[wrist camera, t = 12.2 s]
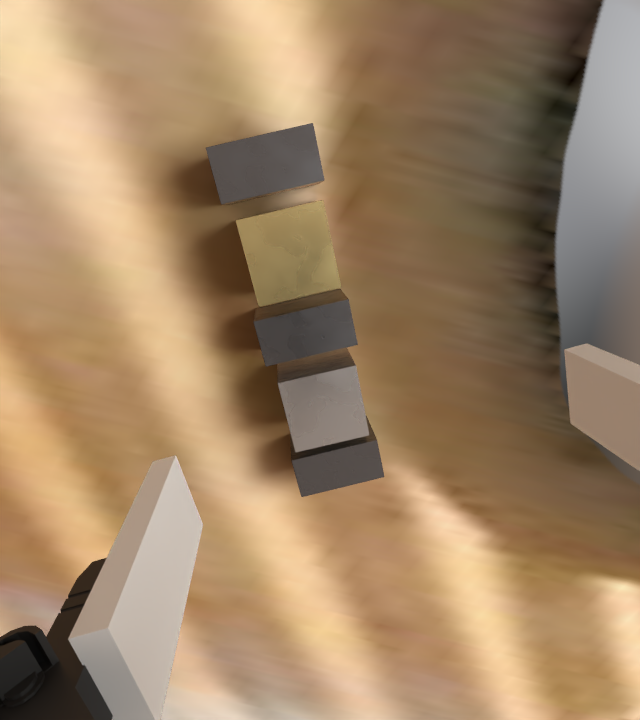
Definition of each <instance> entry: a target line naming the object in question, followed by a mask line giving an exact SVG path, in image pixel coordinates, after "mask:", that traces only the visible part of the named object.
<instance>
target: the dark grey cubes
mask: <svg viewBox="0 0 640 720" xmlns="http://www.w3.org/2000/svg"><path fill="white" fill-rule="evenodd" d="M206 150H207V154H208V158H209V161H210V165H211V169H212V172H213V176H214V180H215V183H216V187H217V191H218V194H219V198H220V201H221V204H225V205H229V204H233V203H237V202H242V201H246V200H250V199H255V198H259V197H263V196H268V195H272V194H276V193H280V192H285V191H289V190H293V189H298V188H302V187H306V186H311V185H315V184H319V183H321V182H322V181H324V176H323V171H322V166H321V161H320V156H319V151H318V146H317V141H316V136H315V131H314V126H313V123H311V124H307V125H302V126H298V127H294V128H289V129H285V130H280V131H276V132H272V133H267V134H263V135H259V136H254V137H250V138H246V139H241V140H237V141H233V142H228V143H224V144H220V145H215V146H211V147H206ZM254 325H255V329H256V333H257V336H258V340H259V344H260V347H261V351H262V355H263V358H264V362H265V366H270V365H274V364H279V363H283V362H287V361H291V360H295V359H300V358H304V357H308V356H312V355H316V354H321V353H325V352H329V351H333V350H337V349H342V348H346V347H350V346H354V345H358V344H357V339H356V334H355V329H354V324H353V319H352V314H351V309H350V304H349V299H348V298H347V297H346V296H345V294H344V293H343V292H342V290H341V289H336V290H332V291H327V292H323V293H319V294H315V295H310V296H306V297H302V298H298V299H294V300H289V301H285V302H281V303H277V304H272V305H268V306H264V307H260V308H256V311H255V316H254ZM366 420H367V425H368V430H369V435H368V436H364V437H360V438H355V439H351V440H347V441H343V442H338V443H334V444H330V445H325V446H321V447H317V448H313V449H308V450H304V451H300V452H295V448H294V444H293V441H292V437H291V434H290V444H291V459H292V464H293V468H294V471H295V475H296V479H297V482H298V486H299V490H300V493H301V497H304V496H308V495H312V494H316V493H320V492H325V491H329V490H333V489H337V488H341V487H345V486H349V485H353V484H357V483H361V482H366V481H370V480H374V479H378V478H382V477H384V473H383V468H382V463H381V458H380V453H379V448H378V443H377V439H376V437H375V434H374V432H373V430H372V428H371V425H370V423H369V421H368V418H367V416H366Z"/></svg>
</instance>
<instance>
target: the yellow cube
mask: <svg viewBox="0 0 640 720" xmlns="http://www.w3.org/2000/svg"><path fill="white" fill-rule="evenodd" d="M236 224H237V228H238V231H239V235H240V239H241V242H242V246H243V250H244V254H245V257H246V261H247V265H248V269H249V272H250V276H251V280H252V284H253V287H254V291H255V295H256V298H257V302H258V306H259V307H261V306H265V305H269V304H273V303H278V302H282V301H286V300H290V299H295V298H299V297H303V296H307V295H312V294H316V293H320V292H324V291H328V290H333V289H337V288H341V284H340V279H339V274H338V270H337V265H336V260H335V255H334V250H333V245H332V240H331V236H330V231H329V226H328V221H327V216H326V211H325V206H324V202H323V200H321V201H315V202H311V203H307V204H302V205H298V206H294V207H289V208H285V209H281V210H276V211H272V212H268V213H264V214H259V215H255V216H251V217H246V218H242V219H239V220H236Z"/></svg>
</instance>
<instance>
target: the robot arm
mask: <svg viewBox="0 0 640 720" xmlns="http://www.w3.org/2000/svg"><path fill="white" fill-rule="evenodd" d="M564 351H565V363H566V375H567V387H568V398H569V410H570V422H571V424H572V425H574V426H575V427H577V428H578V429H580V430H581V431H582V432H584V433H585V434H587V435H588V436H590V437H591V438H592V439H594V440H596V441H597V442H598V443H600V444H601V445H603V446H604V447H606V448H607V449H608V450H610V451H611V452H613V453H614V454H616V455H617V456H618V457H620V458H621V459H623V460H624V461H626V462H627V463H629V464H630V465H632V466H633V467H634V468H636V469H637V470H639V471H640V365H638V364H635V363H633V362H631V361H628V360H626V359H623V358H621V357H618V356H616V355H613V354H611V353H608V352H606V351H604V350H601V349H599V348H596V347H594V346H591V345H589V344H583V345H580V346H576V347H572V348H568V349H565V350H564ZM202 527H203V523H202V521H201V518H200V516H199V513H198V510H197V508H196V505H195V503H194V500H193V498H192V495H191V493H190V490H189V488H188V485H187V482H186V480H185V477H184V475H183V472H182V470H181V467H180V465H179V462H178V459H177V457H176V455H175V456H171V457H167V458H164V459H160V460H156V461H153V462H152V464H151V466H150V468H149V470H148V472H147V474H146V477H145V479H144V481H143V483H142V485H141V487H140V489H139V491H138V493H137V495H136V498H135V500H134V502H133V504H132V506H131V508H130V510H129V512H128V514H127V516H126V518H125V521H124V523H123V525H122V527H121V529H120V531H119V533H118V535H117V537H116V539H115V542H114V544H113V546H112V548H111V550H110V552H109V554H108V556H107V558H105V559H101V560H97V561H94V562H92V563H91V564H90V565H89V566H88V567H87V569H86V570H85V571H84V572H83V573H82V574H81V575H80V576H79V577H78V578H77V580H76V582H75V584H74V586H73V587H72V589H71V591H70V593H69V595H68V599H66V601H65V603H64V604H63V606H62V608H61V613H59V614H58V616H57V618H56V619H55V621H54V623H53V625H52V627H51V629H50V631H49V633H48V635H47V636H45V635H44V633H43V631H42V630H41V629H40V628H38V627H37V626H23V627H21V628H18V629H15V630H12V631H10V632H8V633H6V634H5V635H3V636H1V637H0V720H112V719H113V720H161V716H162V711H163V707H164V702H165V697H166V693H167V688H168V684H169V679H170V674H171V670H172V665H173V661H174V656H175V651H176V647H177V642H178V637H179V633H180V628H181V624H182V619H183V614H184V610H185V605H186V601H187V596H188V591H189V587H190V582H191V578H192V573H193V568H194V564H195V559H196V555H197V550H198V545H199V541H200V536H201V532H202Z"/></svg>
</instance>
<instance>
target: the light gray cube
mask: <svg viewBox="0 0 640 720" xmlns="http://www.w3.org/2000/svg"><path fill="white" fill-rule="evenodd" d="M277 368H278V386H279V390H280V394H281V398H282V402H283V406H284V409H285V413H286V417H287V421H288V425H289V429H290V433H291V437H292V441H293V444H294V448H295V452H300V451H304V450H308V449H313V448H317V447H321V446H325V445H330V444H334V443H338V442H343V441H347V440H351V439H355V438H360V437H364V436H368V435H369V430H368V425H367V420H366V415H365V410H364V405H363V400H362V395H361V389H360V384H359V379H358V374H357V369H356V365H355V363H354V361H353V359H352V357H351V355H350V353H349V351H348V349H347V347H346V348H342V349H337V350H333V351H329V352H325V353H321V354H316V355H312V356H308V357H304V358H300V359H295V360H291V361H287V362H283V363H279V364H277Z"/></svg>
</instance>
